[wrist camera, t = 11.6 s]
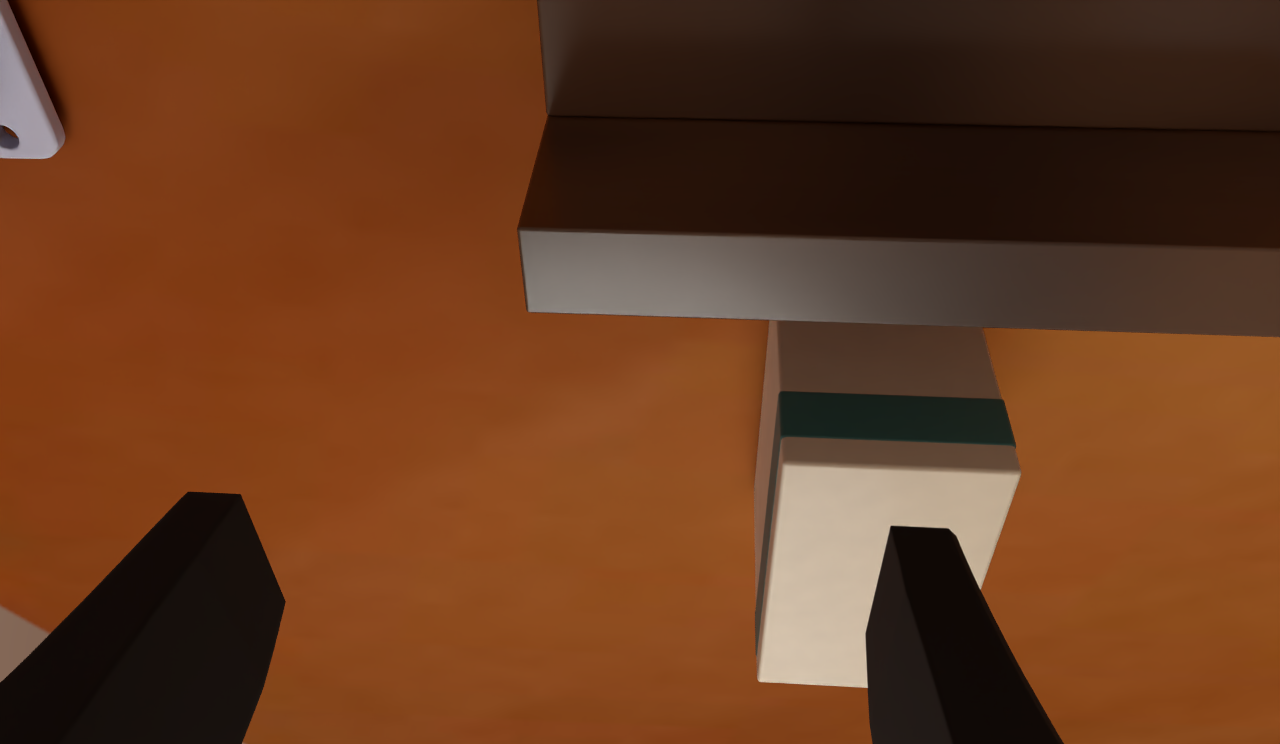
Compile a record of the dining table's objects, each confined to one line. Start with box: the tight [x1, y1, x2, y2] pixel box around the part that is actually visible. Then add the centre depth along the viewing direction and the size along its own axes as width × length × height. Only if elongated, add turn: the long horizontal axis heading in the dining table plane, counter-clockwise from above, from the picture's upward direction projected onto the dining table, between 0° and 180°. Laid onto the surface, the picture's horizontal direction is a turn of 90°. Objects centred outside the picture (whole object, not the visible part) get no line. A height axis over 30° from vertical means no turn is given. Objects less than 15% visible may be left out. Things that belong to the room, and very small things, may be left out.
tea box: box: [754, 320, 1021, 688], centre depth 22 cm, size 4×7×6 cm, turn 1°
